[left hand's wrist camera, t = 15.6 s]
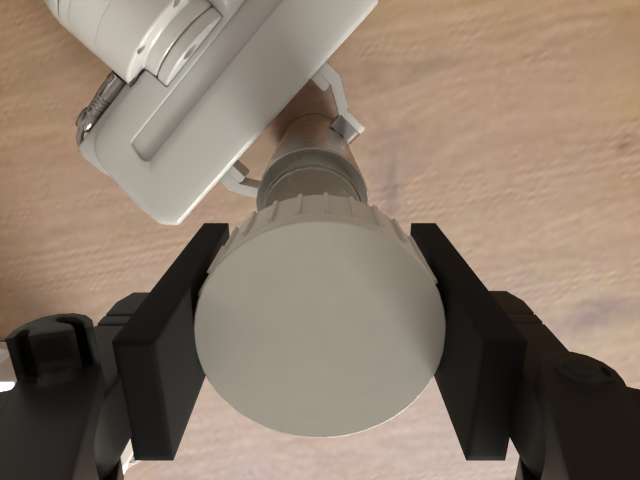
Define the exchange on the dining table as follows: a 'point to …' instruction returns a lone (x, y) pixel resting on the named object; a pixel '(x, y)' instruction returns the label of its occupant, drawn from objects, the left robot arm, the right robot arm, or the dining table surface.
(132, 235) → the dining table surface
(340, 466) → the dining table surface
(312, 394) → the lid
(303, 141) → the jar
